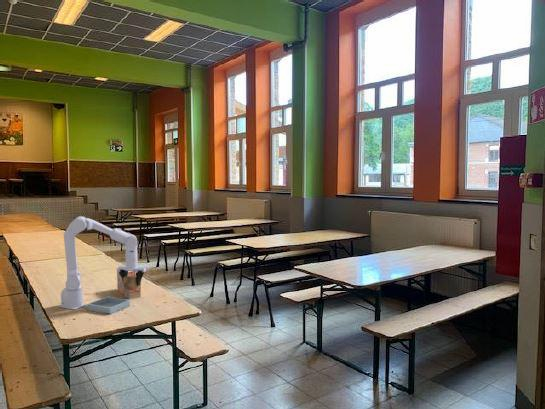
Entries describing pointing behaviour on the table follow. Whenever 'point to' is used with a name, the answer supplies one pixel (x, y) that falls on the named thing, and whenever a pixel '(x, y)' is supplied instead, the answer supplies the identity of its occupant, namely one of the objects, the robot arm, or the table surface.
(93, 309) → the tray
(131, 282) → the walnut block
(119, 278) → the stack of blocks
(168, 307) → the table surface
